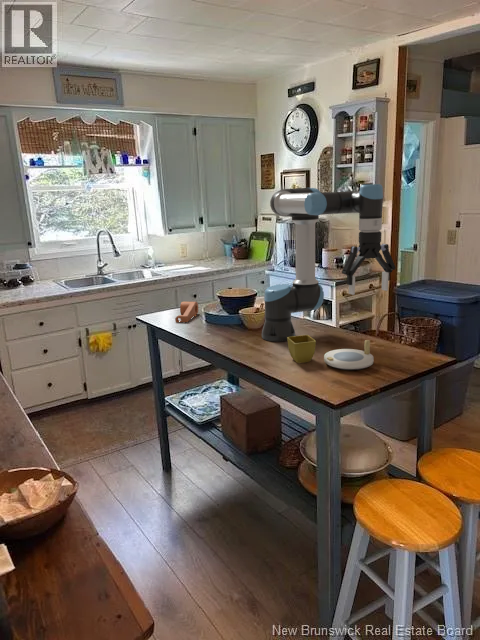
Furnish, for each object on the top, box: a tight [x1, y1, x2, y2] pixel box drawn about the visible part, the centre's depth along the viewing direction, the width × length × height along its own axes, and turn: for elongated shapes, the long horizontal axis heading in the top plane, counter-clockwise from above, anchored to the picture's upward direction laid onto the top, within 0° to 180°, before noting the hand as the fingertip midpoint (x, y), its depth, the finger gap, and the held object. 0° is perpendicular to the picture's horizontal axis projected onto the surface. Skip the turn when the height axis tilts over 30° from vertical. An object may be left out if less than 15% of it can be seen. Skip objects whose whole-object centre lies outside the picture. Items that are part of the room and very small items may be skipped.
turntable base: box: [333, 367, 364, 371], centre depth 178 cm, size 13×13×1 cm
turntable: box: [323, 339, 375, 370], centre depth 177 cm, size 18×18×7 cm
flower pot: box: [287, 334, 317, 364], centre depth 183 cm, size 9×9×9 cm
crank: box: [174, 301, 199, 323], centre depth 256 cm, size 20×8×8 cm, turn 168°
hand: (368, 292), depth 168 cm, fingers open, 13 cm apart
